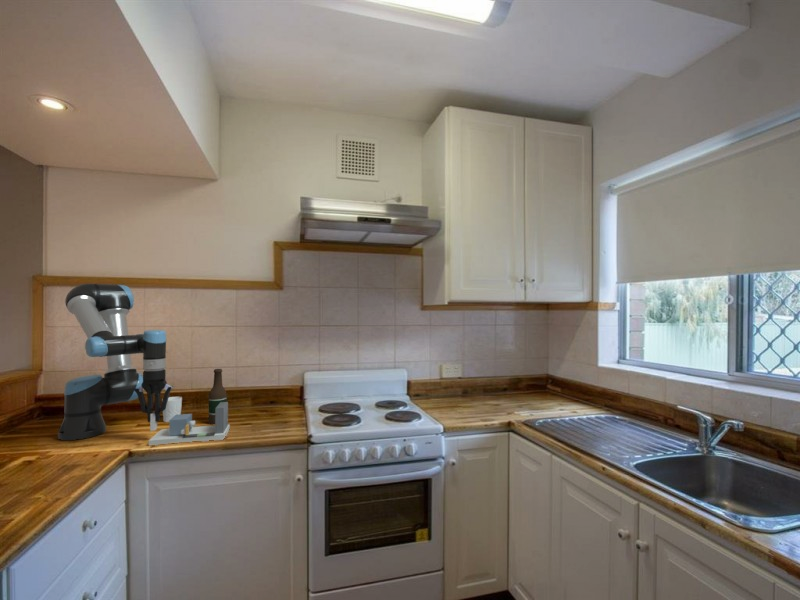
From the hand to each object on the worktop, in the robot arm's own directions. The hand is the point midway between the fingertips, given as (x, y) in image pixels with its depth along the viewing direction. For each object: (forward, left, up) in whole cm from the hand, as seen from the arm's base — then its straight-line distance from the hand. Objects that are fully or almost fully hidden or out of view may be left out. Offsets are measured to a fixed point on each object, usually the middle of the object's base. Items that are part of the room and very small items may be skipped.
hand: (153, 429), depth 150 cm
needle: (+13, -6, -1) cm, 15 cm away
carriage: (+11, -1, -2) cm, 11 cm away
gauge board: (+14, 0, -4) cm, 14 cm away
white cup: (-1, +28, -4) cm, 28 cm away
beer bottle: (+20, +19, -4) cm, 28 cm away
